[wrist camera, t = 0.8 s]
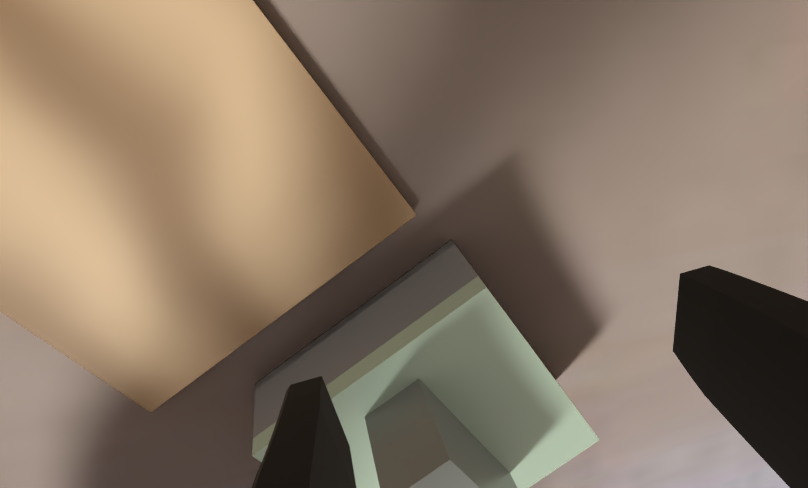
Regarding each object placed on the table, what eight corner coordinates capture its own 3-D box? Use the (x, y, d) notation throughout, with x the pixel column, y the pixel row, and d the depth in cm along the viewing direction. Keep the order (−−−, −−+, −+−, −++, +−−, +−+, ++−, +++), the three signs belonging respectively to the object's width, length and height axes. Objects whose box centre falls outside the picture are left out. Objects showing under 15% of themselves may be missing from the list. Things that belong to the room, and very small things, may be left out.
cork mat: (152, 405, 20) (150, 412, 20) (-213, 156, 14) (-225, 160, 14) (414, 211, 19) (416, 215, 19) (140, -148, 13) (137, -152, 13)
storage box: (392, 494, 26) (405, 550, 23) (255, 383, 21) (253, 438, 19) (556, 380, 25) (589, 425, 22) (451, 239, 20) (478, 275, 18)
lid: (402, 534, 24) (432, 660, 19) (253, 422, 19) (247, 554, 15) (579, 413, 23) (655, 515, 19) (470, 265, 18) (535, 353, 14)
